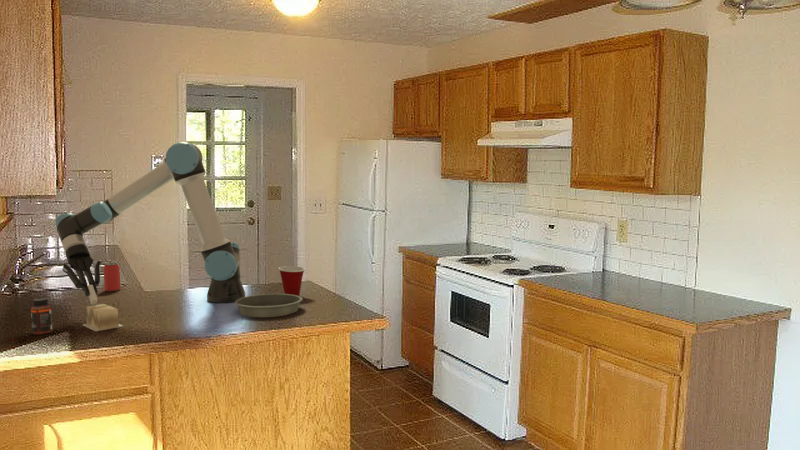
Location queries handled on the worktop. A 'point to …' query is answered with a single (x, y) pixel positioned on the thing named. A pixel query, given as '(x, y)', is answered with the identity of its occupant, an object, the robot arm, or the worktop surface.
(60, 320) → the worktop surface
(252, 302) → the cake pan
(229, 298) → the robot arm
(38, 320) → the supplement bottle
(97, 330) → the mat
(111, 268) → the beer can
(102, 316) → the beech block
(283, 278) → the plastic cup
